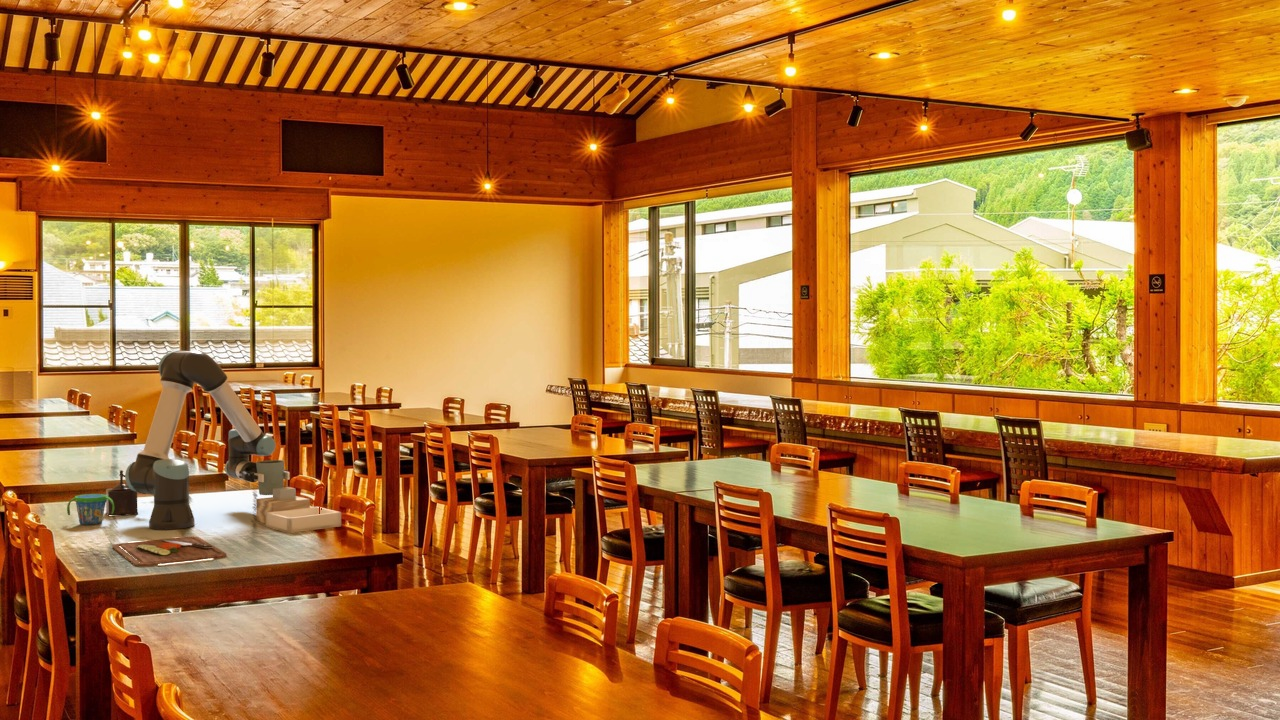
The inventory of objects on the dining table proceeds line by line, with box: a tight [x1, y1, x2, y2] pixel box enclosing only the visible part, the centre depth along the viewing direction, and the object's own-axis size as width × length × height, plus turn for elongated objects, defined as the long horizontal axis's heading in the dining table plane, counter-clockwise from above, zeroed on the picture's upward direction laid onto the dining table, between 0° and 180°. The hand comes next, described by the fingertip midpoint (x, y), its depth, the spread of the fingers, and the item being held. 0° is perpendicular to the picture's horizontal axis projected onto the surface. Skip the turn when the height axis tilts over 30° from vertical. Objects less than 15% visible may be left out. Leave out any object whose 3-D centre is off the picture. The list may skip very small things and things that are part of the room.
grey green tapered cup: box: [255, 459, 285, 496], centre depth 444 cm, size 10×10×12 cm
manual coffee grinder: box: [105, 470, 139, 516], centre depth 455 cm, size 16×11×18 cm
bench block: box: [255, 495, 311, 524], centre depth 436 cm, size 14×14×8 cm
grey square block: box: [272, 486, 297, 501], centre depth 435 cm, size 6×6×4 cm
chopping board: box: [112, 536, 227, 567], centre depth 378 cm, size 45×27×3 cm, turn 34°
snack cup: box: [66, 493, 114, 526], centre depth 431 cm, size 16×10×10 cm
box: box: [265, 506, 342, 534], centre depth 424 cm, size 18×20×5 cm
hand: (275, 477), depth 440 cm, fingers closed on grey green tapered cup, 9 cm apart
